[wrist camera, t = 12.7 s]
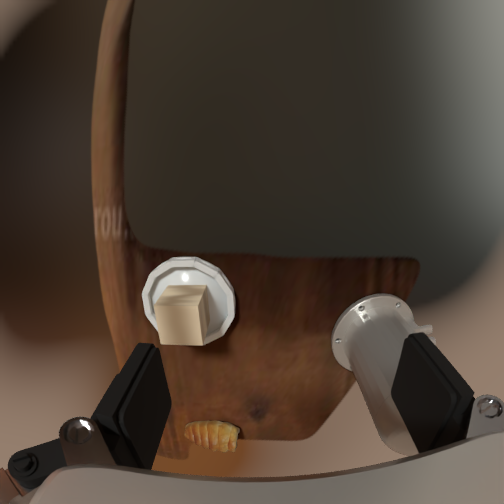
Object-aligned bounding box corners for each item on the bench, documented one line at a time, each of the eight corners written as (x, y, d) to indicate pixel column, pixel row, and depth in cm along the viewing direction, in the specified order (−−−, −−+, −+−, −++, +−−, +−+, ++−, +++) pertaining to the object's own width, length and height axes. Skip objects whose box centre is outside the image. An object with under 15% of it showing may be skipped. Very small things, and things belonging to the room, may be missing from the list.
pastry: (187, 437, 46) (183, 452, 43) (184, 414, 45) (180, 429, 41) (238, 443, 46) (237, 458, 43) (240, 420, 45) (239, 436, 41)
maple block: (206, 284, 37) (197, 305, 31) (210, 320, 38) (202, 345, 33) (168, 285, 37) (153, 305, 31) (173, 320, 38) (160, 344, 33)
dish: (233, 255, 37) (232, 258, 35) (237, 340, 40) (237, 346, 38) (139, 257, 37) (136, 260, 35) (153, 338, 40) (150, 343, 39)
